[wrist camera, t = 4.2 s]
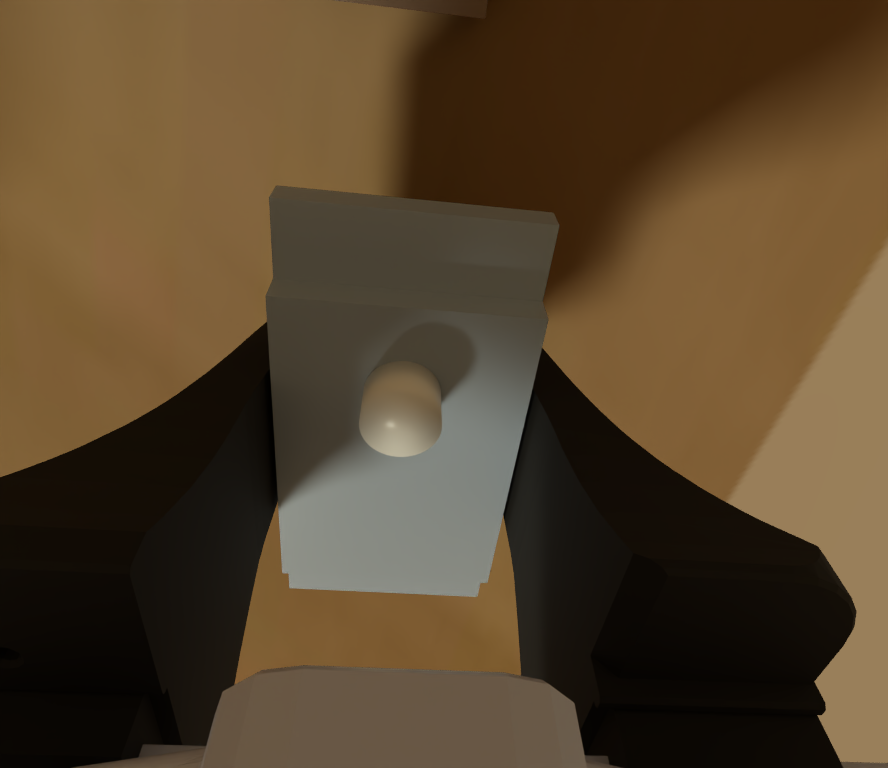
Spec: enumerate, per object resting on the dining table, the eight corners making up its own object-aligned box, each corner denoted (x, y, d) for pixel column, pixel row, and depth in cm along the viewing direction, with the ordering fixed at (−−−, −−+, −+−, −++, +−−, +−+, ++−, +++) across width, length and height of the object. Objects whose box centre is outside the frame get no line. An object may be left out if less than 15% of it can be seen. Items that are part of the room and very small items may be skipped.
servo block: (313, 474, 16) (277, 646, 12) (307, 132, 11) (246, 236, 7) (468, 483, 16) (481, 654, 13) (527, 155, 12) (578, 267, 8)
